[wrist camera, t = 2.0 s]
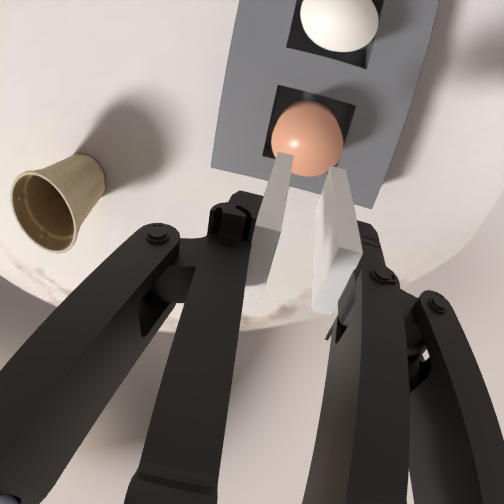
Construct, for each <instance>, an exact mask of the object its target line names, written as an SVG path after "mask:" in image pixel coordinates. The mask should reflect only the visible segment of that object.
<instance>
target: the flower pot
mask: <svg viewBox="0 0 504 504" xmlns="http://www.w3.org/2000/svg"><path fill="white" fill-rule="evenodd" d="M104 190H105V182H104V173H103V170H102V169H101V167H100V165H99V164H98V163H97V162H96V161H95V160H94V159H93V158H92V157H90V156H88V155H81V154H76V155H73V156H71V157H69V158H66V159H64V160H62V161H60V162H57V163H55V164H53V165H51V166H48V167H46V168H44V169H40V170H35V171H26V172H24V173H21V174H20V175H19V176H18V177H17V178H16V179H15V180H14V182H13V185H12V189H11V205H12V210H13V213H14V215H15V218H16V220H17V222H18V224H19V226H20V227H21V229H22V230H23V232H24V233H25V234H26V236H27V237H28V238H29V239H30V240H31V241H33V242H34V243H35V244H36V245H37V246H39V247H40V248H42V249H44V250H46V251H49V252H52V253H64V252H67V251H68V250H70V249H71V248H72V246H73V245H74V244H75V242H76V239H77V234H78V232H79V229H80V226H81V224H82V223H83V221H84V220H85V218H86V217H87V215H88V214H89V212H90V211H91V210H92V208H93V207H94V205H95V204H96V203H97V201H98V200H99V199H100V198H101V196H102V195H103V193H104Z"/></svg>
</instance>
